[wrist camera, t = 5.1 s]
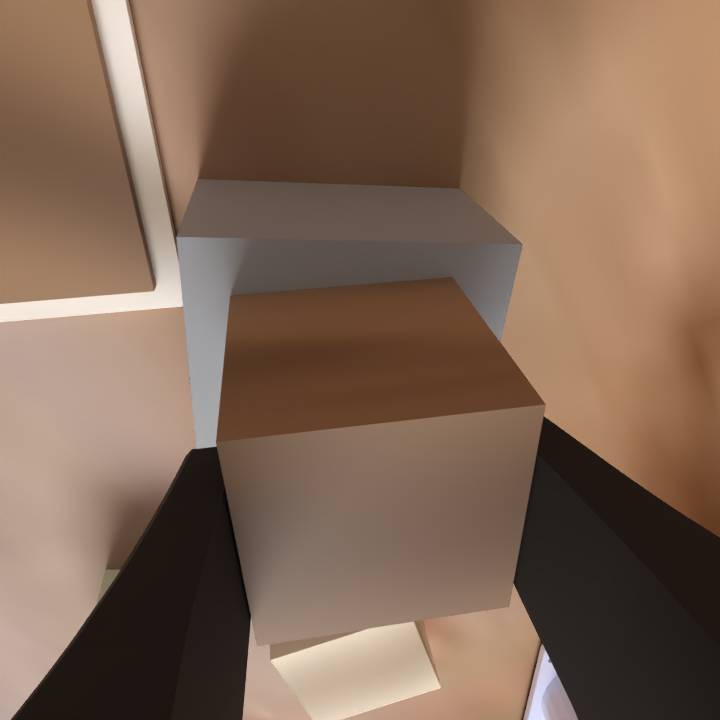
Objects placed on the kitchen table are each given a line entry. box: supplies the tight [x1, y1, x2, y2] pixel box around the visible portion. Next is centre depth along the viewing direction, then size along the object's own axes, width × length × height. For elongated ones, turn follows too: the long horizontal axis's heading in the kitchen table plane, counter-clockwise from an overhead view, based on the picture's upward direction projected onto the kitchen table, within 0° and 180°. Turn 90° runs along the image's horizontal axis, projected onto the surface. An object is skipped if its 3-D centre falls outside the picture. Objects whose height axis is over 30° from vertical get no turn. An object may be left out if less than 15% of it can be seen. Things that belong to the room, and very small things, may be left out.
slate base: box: [177, 179, 522, 449], centre depth 13 cm, size 6×6×4 cm
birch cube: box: [270, 620, 441, 720], centre depth 18 cm, size 4×4×4 cm
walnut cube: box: [216, 277, 546, 646], centre depth 10 cm, size 4×4×4 cm
